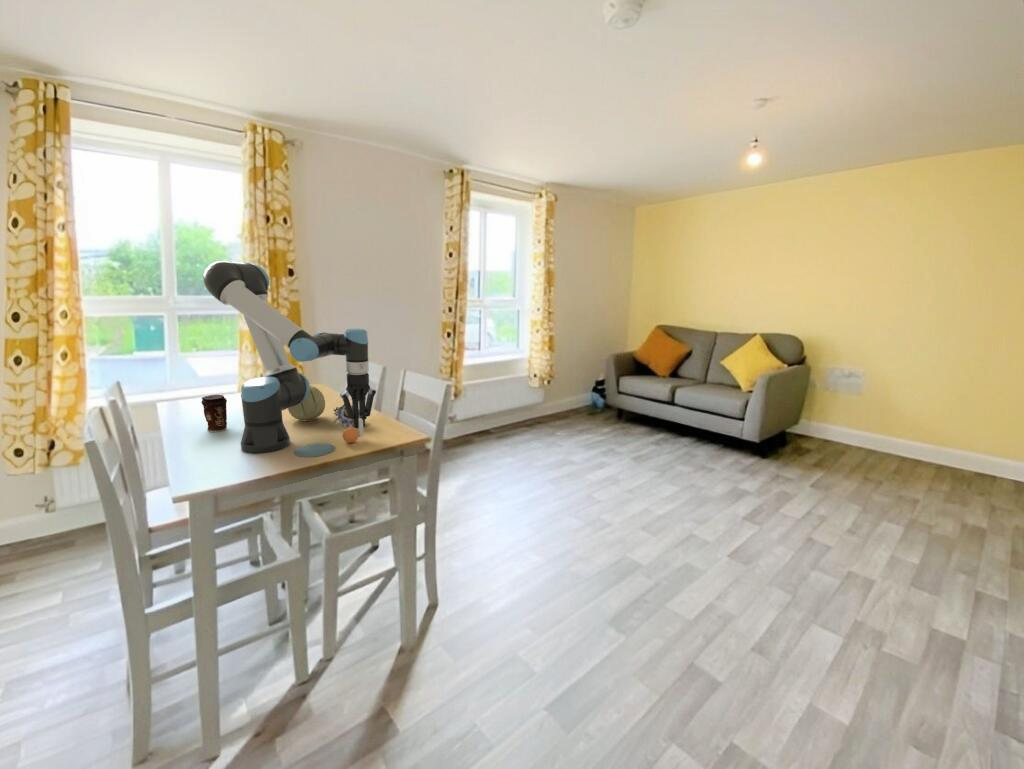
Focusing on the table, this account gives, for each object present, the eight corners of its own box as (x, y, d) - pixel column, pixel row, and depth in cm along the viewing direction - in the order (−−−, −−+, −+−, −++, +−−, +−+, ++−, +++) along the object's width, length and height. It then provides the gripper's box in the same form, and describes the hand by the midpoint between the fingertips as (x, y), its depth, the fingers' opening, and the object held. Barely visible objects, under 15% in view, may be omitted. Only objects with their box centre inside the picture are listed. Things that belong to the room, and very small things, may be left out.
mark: (295, 459, 152) (295, 458, 152) (292, 447, 163) (292, 446, 163) (337, 453, 158) (337, 452, 158) (332, 441, 169) (332, 441, 169)
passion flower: (351, 441, 186) (334, 422, 178) (340, 430, 194) (323, 411, 186) (374, 423, 190) (358, 403, 182) (363, 412, 197) (347, 392, 190)
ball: (360, 426, 168) (363, 440, 170) (350, 424, 171) (353, 437, 173) (348, 432, 164) (351, 446, 166) (337, 430, 167) (341, 444, 169)
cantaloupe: (317, 425, 187) (314, 389, 184) (281, 424, 188) (277, 388, 184) (332, 415, 202) (330, 381, 199) (298, 414, 202) (295, 380, 199)
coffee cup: (199, 430, 179) (195, 397, 176) (221, 424, 186) (217, 393, 183) (212, 434, 175) (208, 400, 172) (234, 428, 182) (231, 395, 179)
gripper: (344, 376, 160) (347, 442, 165) (379, 372, 169) (381, 435, 174) (335, 372, 165) (338, 436, 170) (369, 369, 174) (371, 430, 179)
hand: (359, 435), depth 172 cm, fingers closed
